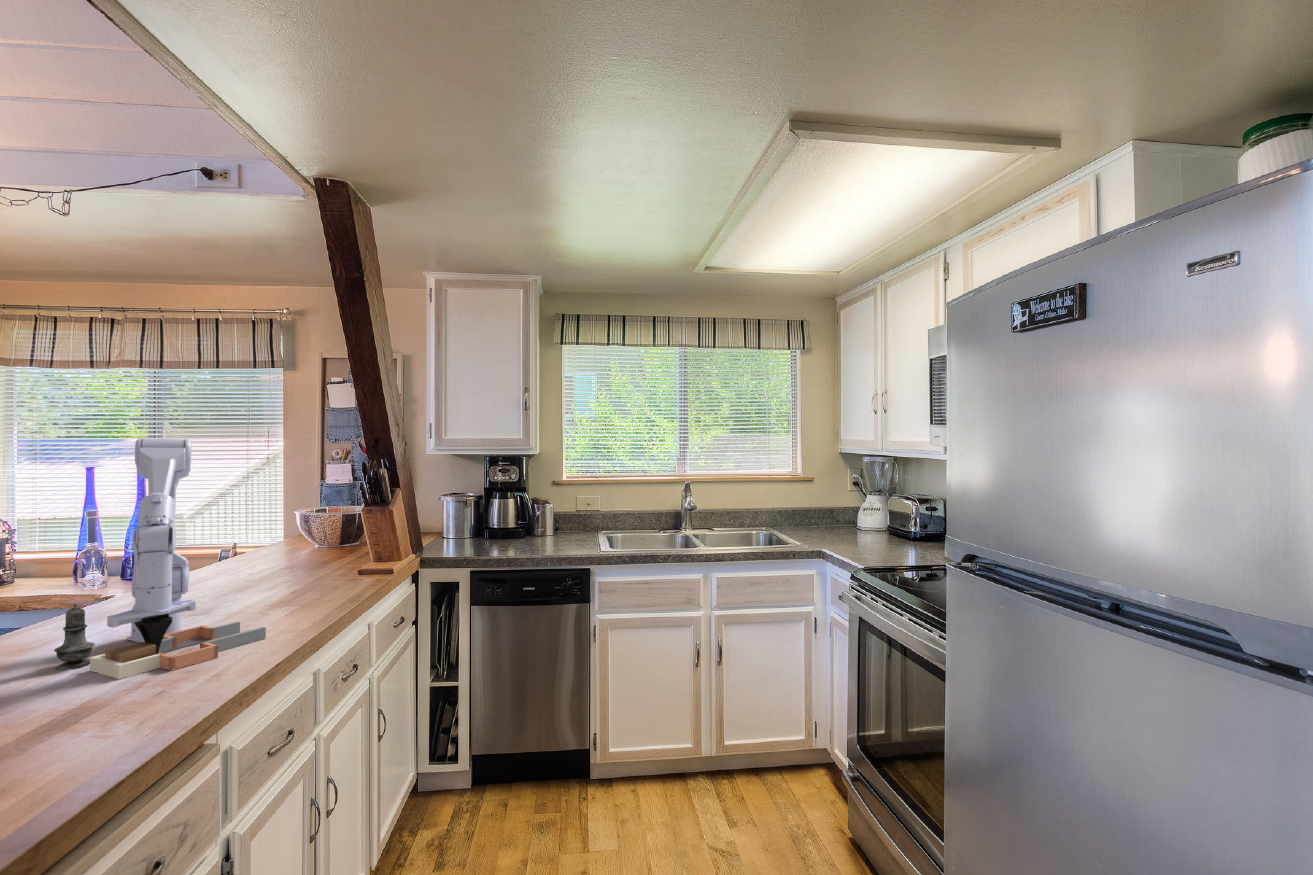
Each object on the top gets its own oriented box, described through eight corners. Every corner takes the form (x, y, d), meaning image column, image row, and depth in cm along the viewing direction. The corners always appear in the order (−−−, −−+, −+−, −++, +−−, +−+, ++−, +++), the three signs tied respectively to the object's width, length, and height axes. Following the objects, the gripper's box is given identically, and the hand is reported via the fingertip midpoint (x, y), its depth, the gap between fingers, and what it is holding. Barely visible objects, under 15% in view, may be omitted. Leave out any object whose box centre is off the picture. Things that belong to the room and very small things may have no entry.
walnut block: (104, 671, 123) (104, 650, 123) (140, 661, 128) (140, 641, 128) (119, 675, 121) (120, 654, 121) (155, 665, 126) (156, 644, 126)
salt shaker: (70, 671, 122) (71, 608, 122) (45, 669, 123) (46, 606, 124) (102, 661, 128) (103, 600, 128) (78, 659, 129) (79, 598, 129)
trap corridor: (79, 667, 125) (80, 654, 125) (227, 630, 150) (227, 619, 150) (130, 682, 117) (130, 668, 117) (276, 640, 142) (276, 629, 142)
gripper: (122, 595, 120) (121, 669, 120) (205, 580, 133) (203, 647, 133) (101, 591, 123) (100, 663, 123) (184, 577, 136) (183, 642, 136)
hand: (152, 654), depth 128 cm, fingers closed
